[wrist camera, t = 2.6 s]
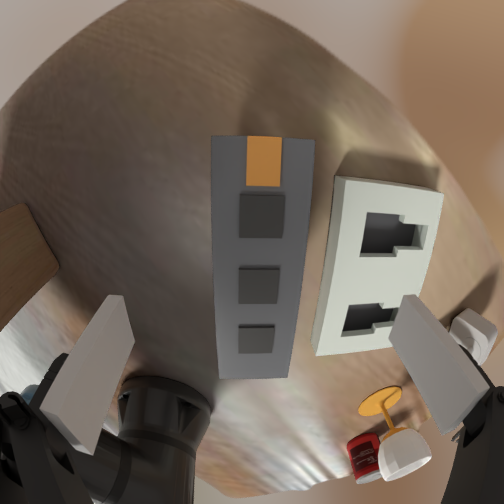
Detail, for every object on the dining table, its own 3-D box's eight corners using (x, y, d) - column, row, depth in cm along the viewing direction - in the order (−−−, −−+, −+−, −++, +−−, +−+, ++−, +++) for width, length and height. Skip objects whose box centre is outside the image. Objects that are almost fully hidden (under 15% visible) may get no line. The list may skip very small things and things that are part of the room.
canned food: (365, 446, 50) (377, 480, 39) (339, 448, 48) (349, 486, 38) (383, 430, 47) (397, 466, 37) (357, 433, 45) (370, 473, 35)
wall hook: (419, 327, 33) (466, 364, 24) (457, 300, 35) (500, 328, 26) (410, 363, 36) (448, 399, 27) (448, 335, 38) (483, 364, 29)
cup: (407, 380, 39) (442, 448, 24) (393, 408, 43) (420, 469, 28) (363, 393, 39) (393, 469, 24) (353, 419, 42) (375, 486, 28)
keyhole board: (310, 339, 33) (315, 355, 30) (334, 175, 25) (345, 179, 22) (390, 331, 33) (399, 345, 31) (428, 187, 25) (444, 193, 23)
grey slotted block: (224, 297, 29) (219, 381, 18) (223, 138, 22) (210, 135, 12) (271, 297, 29) (287, 380, 18) (281, 139, 23) (316, 140, 12)
